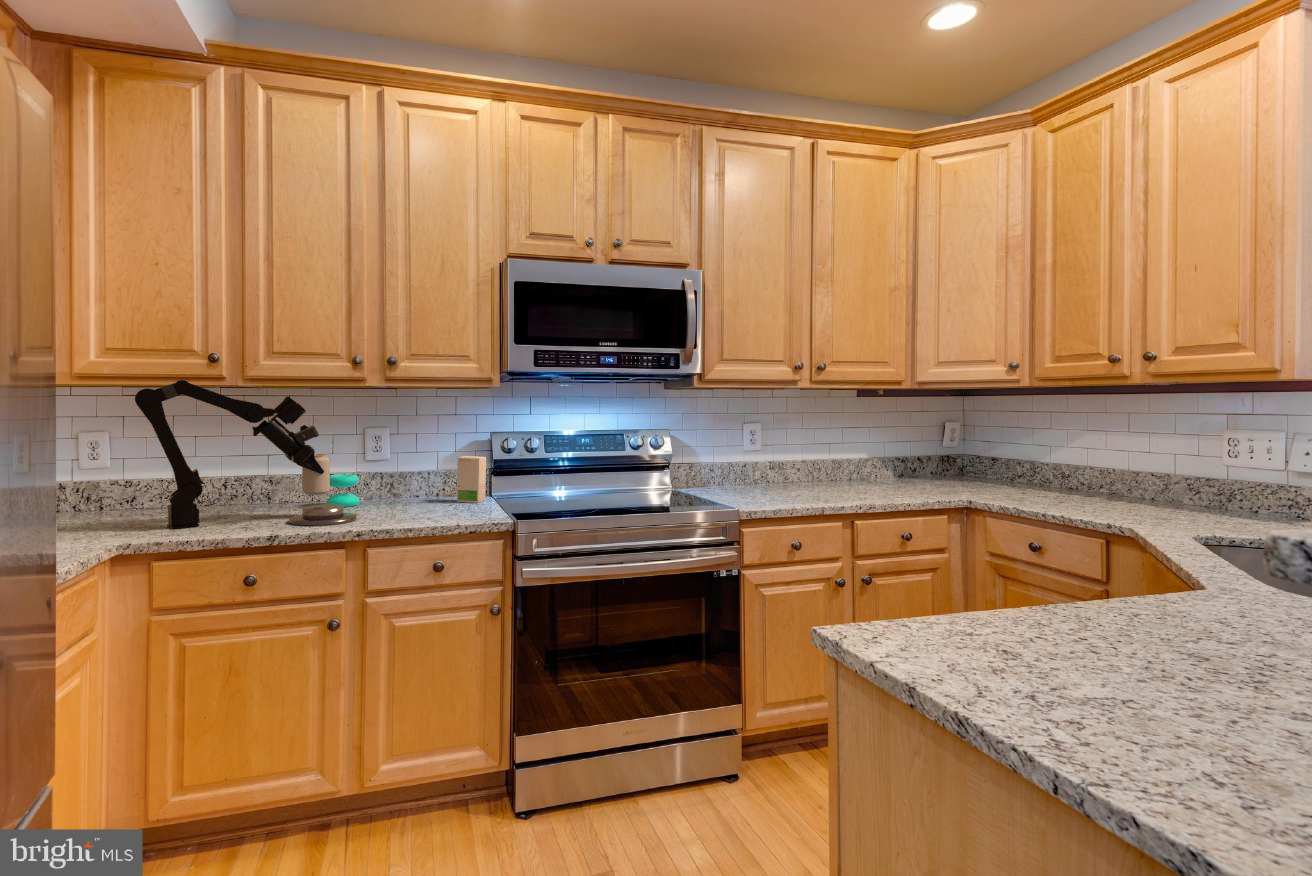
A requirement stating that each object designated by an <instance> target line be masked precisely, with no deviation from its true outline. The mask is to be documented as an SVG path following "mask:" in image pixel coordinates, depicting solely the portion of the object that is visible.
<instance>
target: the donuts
mask: <svg viewBox="0 0 1312 876" xmlns="http://www.w3.org/2000/svg"><path fill="white" fill-rule="evenodd" d="M359 482H360V478H359V476H358V475H355V474H351V473H350V474H349V473H348V474H347V473H345V474H344V473H343V474H332V475H330V487H332V488H350V487H353V486H356V485H357V484H358V483H359ZM326 504H338V505H343V507H344V508H350V507H355V506H357V505H358V504H360V498H359V497H358V496H357V495H355V494H352V493H340V494H339V493H338V494H333V495H330V496H329V497H328V498H327V499H326Z"/></svg>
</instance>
